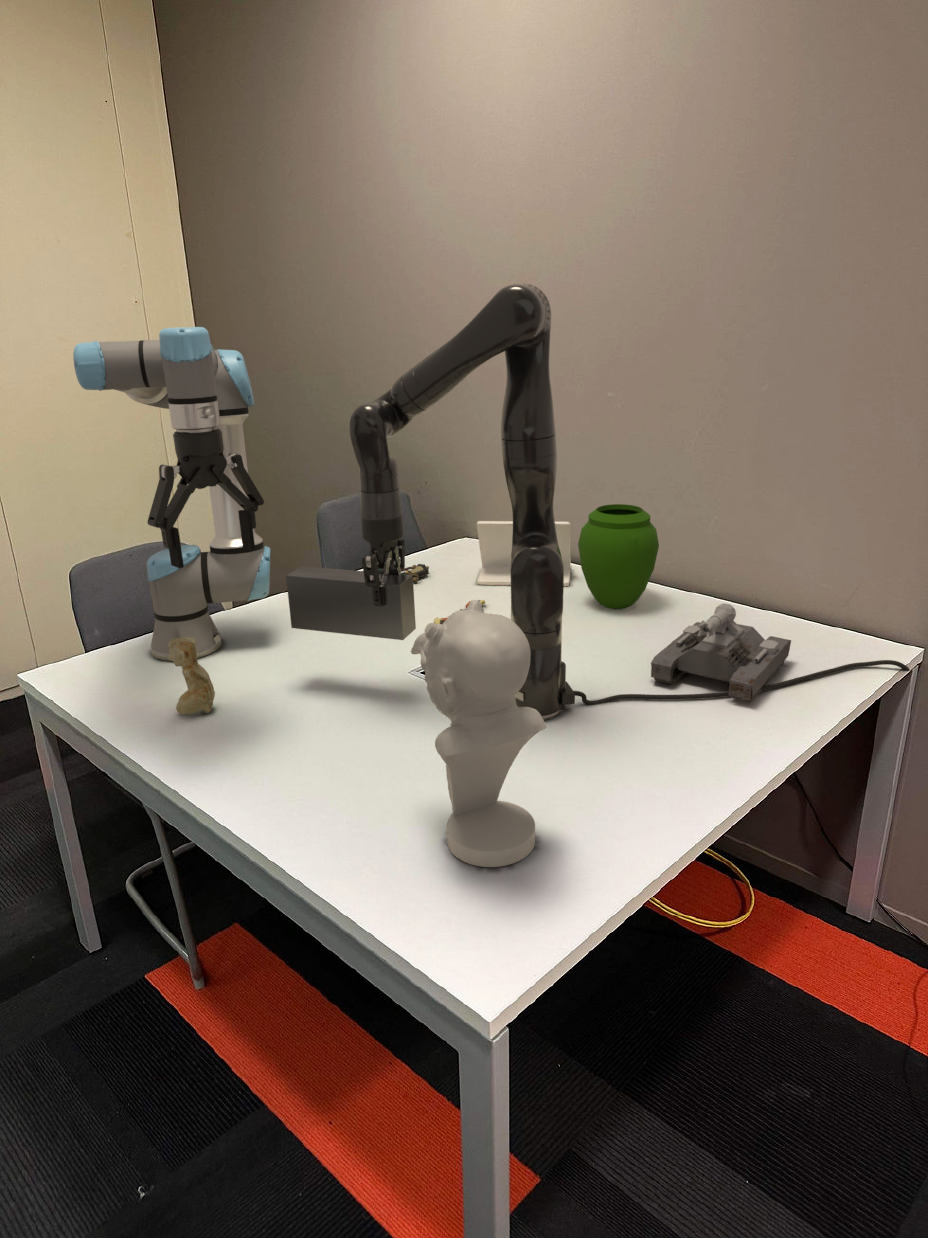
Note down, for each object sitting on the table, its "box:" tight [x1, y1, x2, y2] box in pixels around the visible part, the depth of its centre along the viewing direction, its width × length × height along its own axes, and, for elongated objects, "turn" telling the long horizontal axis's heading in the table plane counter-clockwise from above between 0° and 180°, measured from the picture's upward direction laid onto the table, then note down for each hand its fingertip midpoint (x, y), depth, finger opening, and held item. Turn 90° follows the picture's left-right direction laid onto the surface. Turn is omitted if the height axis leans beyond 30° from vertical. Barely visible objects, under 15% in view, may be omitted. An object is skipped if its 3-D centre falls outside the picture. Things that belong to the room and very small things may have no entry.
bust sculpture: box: [410, 599, 547, 868], centre depth 121 cm, size 16×24×35 cm
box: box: [285, 565, 417, 641], centre depth 165 cm, size 24×6×11 cm, turn 70°
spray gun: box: [378, 563, 430, 583], centre depth 240 cm, size 4×17×15 cm
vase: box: [577, 503, 660, 610], centre depth 210 cm, size 20×20×24 cm
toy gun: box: [433, 599, 486, 624], centre depth 209 cm, size 3×19×10 cm
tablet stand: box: [476, 520, 572, 587], centre depth 236 cm, size 18×25×17 cm
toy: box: [650, 603, 792, 702], centre depth 172 cm, size 25×20×15 cm
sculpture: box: [168, 637, 216, 716], centre depth 162 cm, size 6×7×15 cm
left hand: (214, 557), depth 144 cm, fingers open, 13 cm apart
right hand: (387, 599), depth 162 cm, fingers closed on box, 6 cm apart
